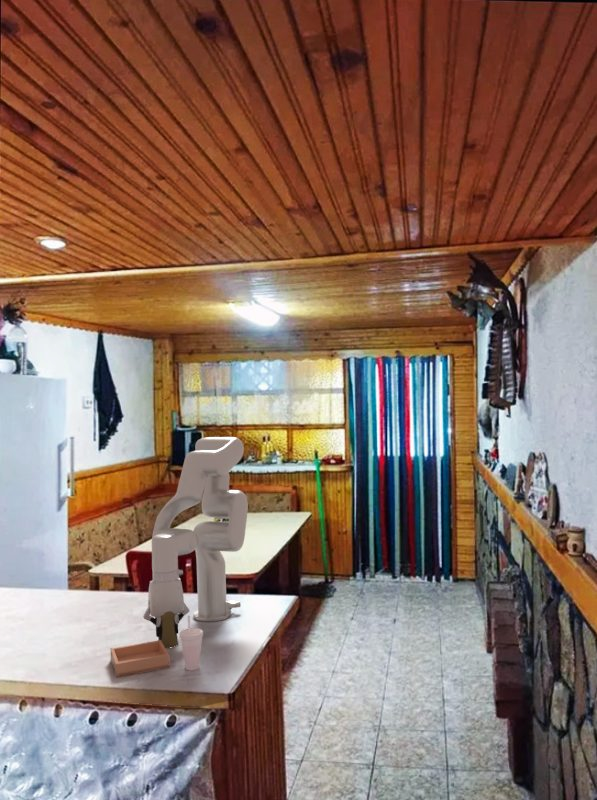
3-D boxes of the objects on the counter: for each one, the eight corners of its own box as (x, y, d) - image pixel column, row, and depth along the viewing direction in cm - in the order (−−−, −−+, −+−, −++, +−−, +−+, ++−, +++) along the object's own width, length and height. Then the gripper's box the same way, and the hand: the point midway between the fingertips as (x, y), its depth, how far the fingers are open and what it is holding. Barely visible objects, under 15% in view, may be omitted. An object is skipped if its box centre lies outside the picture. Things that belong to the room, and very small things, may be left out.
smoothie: (181, 663, 179) (180, 612, 179) (205, 662, 180) (203, 611, 180) (179, 673, 173) (177, 620, 173) (203, 671, 173) (202, 619, 173)
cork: (173, 648, 190) (172, 611, 190) (154, 647, 191) (153, 610, 191) (181, 641, 196) (180, 604, 196) (162, 640, 197) (161, 604, 197)
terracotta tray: (160, 652, 188) (160, 640, 188) (169, 667, 177) (169, 654, 177) (110, 661, 182) (110, 648, 182) (116, 677, 171) (116, 664, 171)
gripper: (189, 569, 200) (191, 629, 200) (135, 576, 194) (136, 638, 194) (195, 575, 193) (197, 637, 193) (139, 582, 187) (141, 646, 187)
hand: (167, 636), depth 193 cm, fingers closed on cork, 3 cm apart
